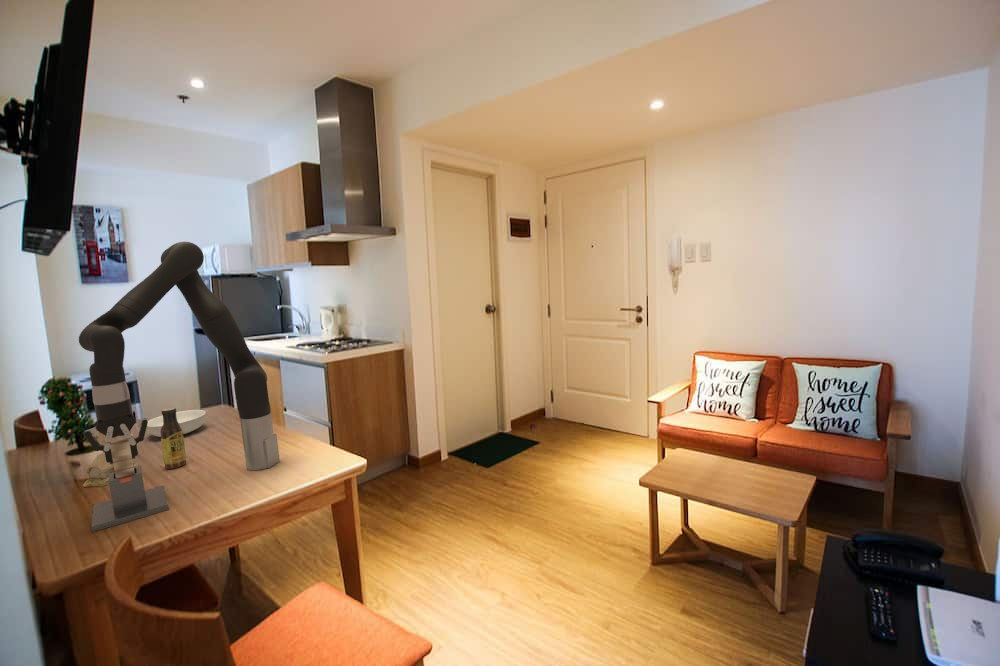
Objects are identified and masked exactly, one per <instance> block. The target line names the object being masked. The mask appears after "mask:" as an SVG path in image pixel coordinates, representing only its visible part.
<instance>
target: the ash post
mask: <svg viewBox="0 0 1000 666" xmlns="http://www.w3.org/2000/svg"><path fill="white" fill-rule="evenodd" d="M110 449H111V453H112V459H113V464H114V472H115V476H116V478H120V477H124V476H128V475H132V474H135V471H134V464H133V462H134V460H133V459H132V454H131V448H130V442H129V441H128V439H127V438H122V439H118V440H113V441H111V444H110Z"/></svg>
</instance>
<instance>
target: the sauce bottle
mask: <svg viewBox="0 0 1000 666" xmlns="http://www.w3.org/2000/svg"><path fill="white" fill-rule="evenodd" d="M176 412H177V408H176V407H169V408H164V409H161V416H162V415H163V423H164V424H163V426H162V428H161V431H160V433H161V437H160V443H161V451H162V458H163V464H164V468H165V469H167V470H172V469H177V468H180V467H183V466H184V465H186V464H187V456H186V454H187V453H186V445H185V438H184V435H183V431H182V429H181V427H180V425H179V423H178V421H177V418H176Z"/></svg>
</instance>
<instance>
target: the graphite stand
mask: <svg viewBox="0 0 1000 666" xmlns="http://www.w3.org/2000/svg"><path fill="white" fill-rule="evenodd" d="M134 471H135V474H132V475H128V476H124V477H120V478H116V476H115V472H113V473H109V492H110V497H111V499H108V500H106V501H101V502H98V503H95V504H93V508H92V518H91V531H92V533H94V532H99V531H101V530H105V529H108V528H112V527H115V526H118V525H121V524H122V525H123V524H125V523H127V522H131V521H135V520H138V519H141V518H145V517H147V516H151V515H155V514H159V513H161V512H165V511H167V510H170V508H169V501H168V499H167V494H166V490H165V485H159V486H157V487H154V488H149V489H146V490H145V485H144V478H143V471H142V467H141V465H139V466H138V467H134Z"/></svg>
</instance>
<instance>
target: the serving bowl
mask: <svg viewBox="0 0 1000 666" xmlns="http://www.w3.org/2000/svg"><path fill="white" fill-rule="evenodd" d="M206 415H207V412H206V411H205V410H201V409H188V410H182V411H181V410H180V411H176V418H177V421H178V423H179V425H180V427H181V429H182V431H183V436H185V435H187V434H189V433H191V432H193V431H196V430H197V429H199V428H201V426H202V425H203V424H204V422H205V420H206V417H207V416H206ZM163 424H164V423H163V415H162V414H161V415H160V416H156V417H154V418H151V419H149V420H148V423H147V428H146V432H148V433H149V435H150V434H151V435H152V436H155V437H159V438H161V433H160V431H161V428H162V426H163Z"/></svg>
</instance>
